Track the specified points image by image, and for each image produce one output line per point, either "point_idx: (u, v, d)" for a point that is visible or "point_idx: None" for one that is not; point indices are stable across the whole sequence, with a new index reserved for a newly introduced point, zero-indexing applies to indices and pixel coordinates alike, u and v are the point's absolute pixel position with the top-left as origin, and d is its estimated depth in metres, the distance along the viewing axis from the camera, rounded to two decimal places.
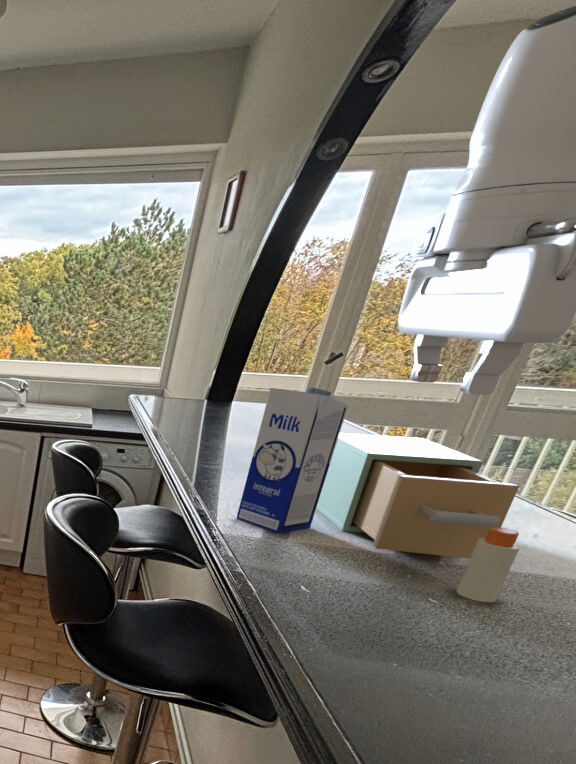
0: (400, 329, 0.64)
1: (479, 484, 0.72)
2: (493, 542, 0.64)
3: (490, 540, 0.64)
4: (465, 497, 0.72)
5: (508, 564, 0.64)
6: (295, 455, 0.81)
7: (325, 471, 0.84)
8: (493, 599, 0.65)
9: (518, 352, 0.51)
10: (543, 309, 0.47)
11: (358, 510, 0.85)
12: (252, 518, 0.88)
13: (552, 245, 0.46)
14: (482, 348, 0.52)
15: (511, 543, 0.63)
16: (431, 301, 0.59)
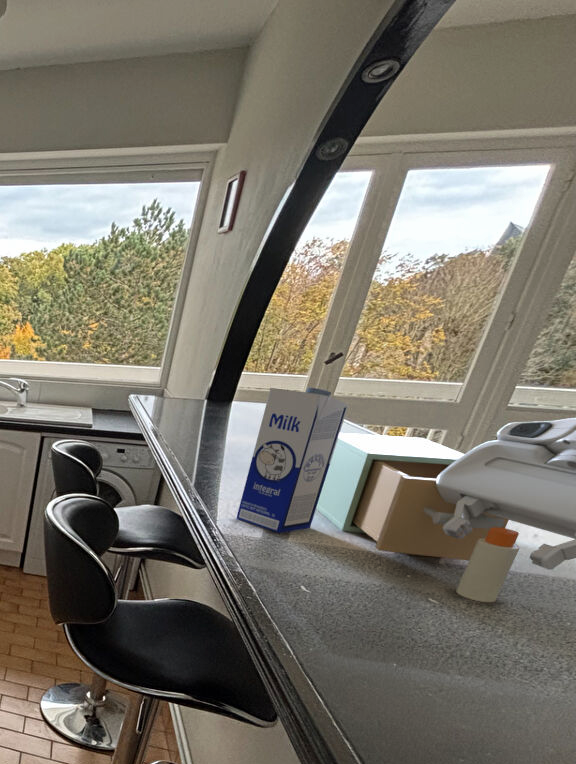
0: (442, 482, 0.71)
1: None
2: (493, 542, 0.64)
3: (490, 540, 0.64)
4: None
5: (508, 564, 0.64)
6: (295, 455, 0.81)
7: (325, 471, 0.84)
8: (493, 599, 0.65)
9: None
10: None
11: (361, 512, 0.84)
12: (252, 518, 0.88)
13: None
14: None
15: (511, 543, 0.63)
16: (506, 476, 0.66)
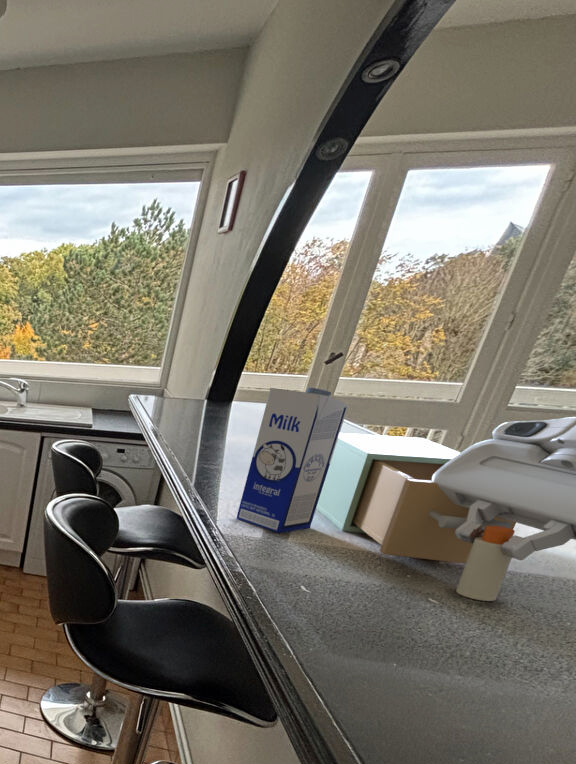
0: (437, 481, 0.71)
1: None
2: (490, 540, 0.64)
3: (486, 538, 0.65)
4: None
5: (506, 562, 0.64)
6: (295, 455, 0.81)
7: (325, 471, 0.84)
8: (493, 597, 0.65)
9: (563, 542, 0.61)
10: None
11: (364, 515, 0.83)
12: (252, 518, 0.88)
13: None
14: (549, 525, 0.61)
15: (507, 540, 0.64)
16: (501, 475, 0.67)
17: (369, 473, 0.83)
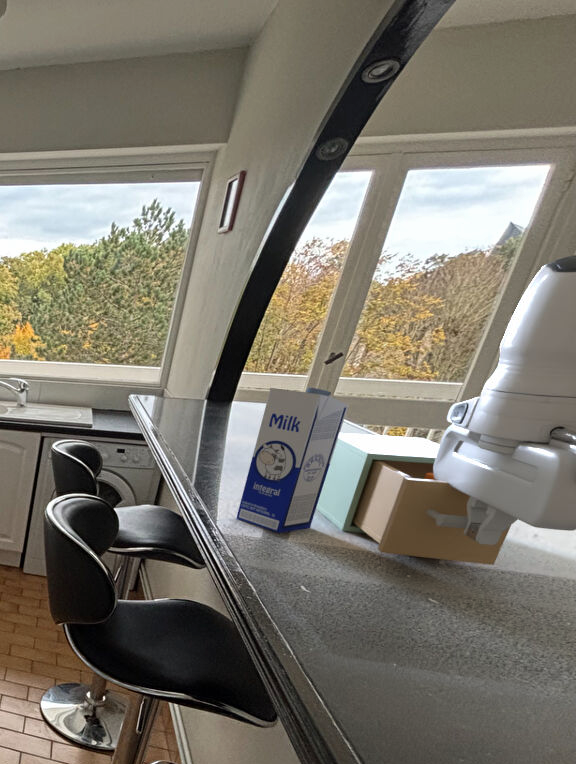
0: (435, 477, 0.74)
1: None
2: None
3: None
4: None
5: None
6: (295, 455, 0.81)
7: (325, 471, 0.84)
8: None
9: None
10: (565, 506, 0.56)
11: (363, 513, 0.83)
12: (252, 518, 0.88)
13: (572, 454, 0.56)
14: (488, 510, 0.65)
15: None
16: (464, 463, 0.69)
17: None
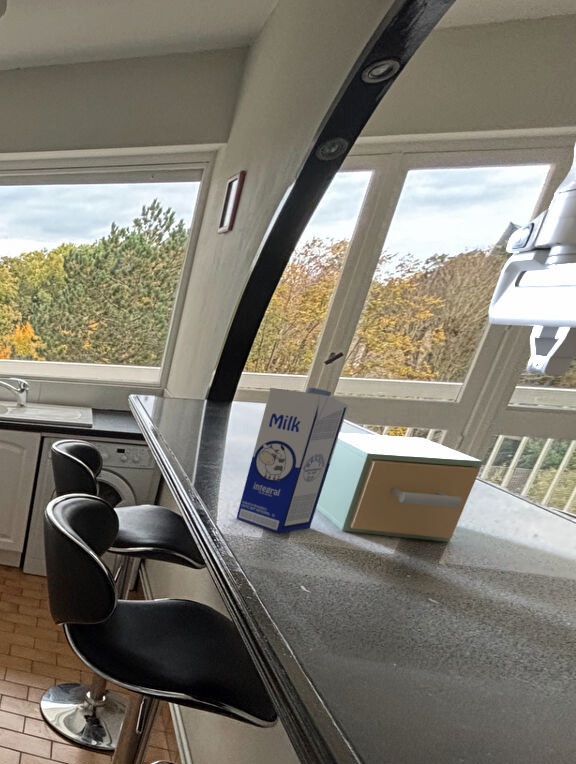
0: (491, 320, 0.68)
1: (443, 468, 0.79)
2: None
3: None
4: (431, 480, 0.79)
5: None
6: (295, 455, 0.81)
7: (325, 471, 0.84)
8: None
9: None
10: None
11: None
12: (252, 518, 0.88)
13: None
14: (558, 334, 0.59)
15: None
16: (528, 293, 0.63)
17: None
